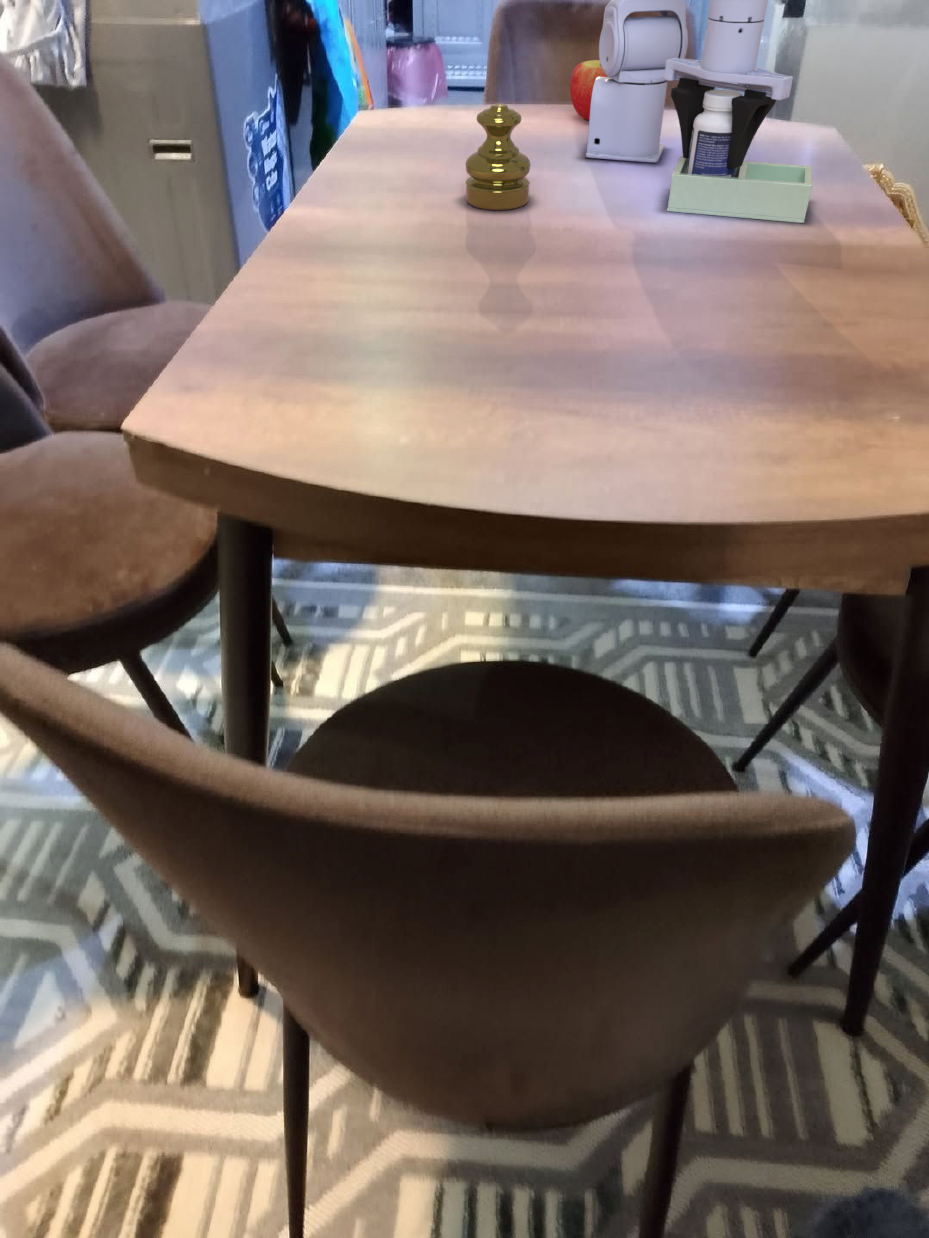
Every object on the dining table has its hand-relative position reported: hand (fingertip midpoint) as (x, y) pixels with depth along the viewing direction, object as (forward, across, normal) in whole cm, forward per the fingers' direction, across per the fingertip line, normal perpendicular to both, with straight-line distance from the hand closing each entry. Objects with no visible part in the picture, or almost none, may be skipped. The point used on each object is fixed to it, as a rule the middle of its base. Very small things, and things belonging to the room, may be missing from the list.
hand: (712, 161), depth 103 cm
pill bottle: (+3, 0, 0) cm, 3 cm away
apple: (+5, +35, -23) cm, 42 cm away
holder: (+4, -3, -2) cm, 6 cm away
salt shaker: (+5, +18, +17) cm, 25 cm away
